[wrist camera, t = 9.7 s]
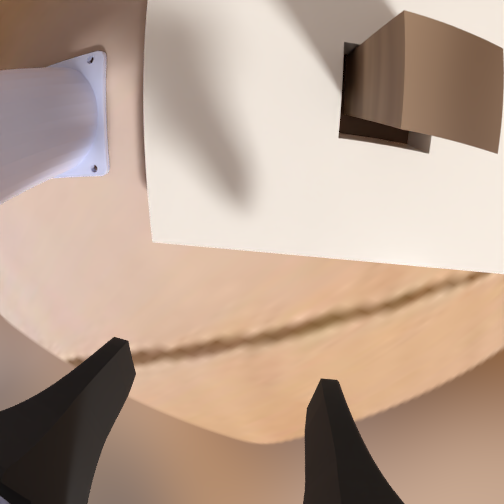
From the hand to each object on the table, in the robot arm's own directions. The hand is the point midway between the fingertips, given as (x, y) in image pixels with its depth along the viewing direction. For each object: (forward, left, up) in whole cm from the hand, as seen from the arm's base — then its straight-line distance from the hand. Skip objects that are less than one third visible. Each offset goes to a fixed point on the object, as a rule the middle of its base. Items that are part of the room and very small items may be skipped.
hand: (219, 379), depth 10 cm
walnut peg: (+6, +10, -9) cm, 15 cm away
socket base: (+6, +10, -9) cm, 15 cm away
